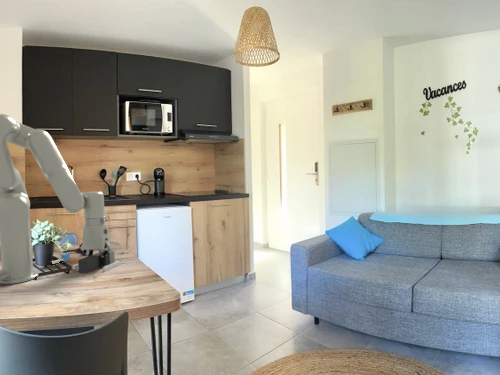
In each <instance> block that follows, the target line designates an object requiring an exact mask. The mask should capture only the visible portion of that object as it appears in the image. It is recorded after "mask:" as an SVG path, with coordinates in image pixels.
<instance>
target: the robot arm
mask: <svg viewBox="0 0 500 375" xmlns="http://www.w3.org/2000/svg"><path fill="white" fill-rule="evenodd" d="M8 143H10V144H13V145H15V146H18V147H21V148H23V149H26V150H29V151H30V153H31V155H32V156H33V158H34V160H35V161H36V163H37V165H38V167H39V168H40V170H41V172H42V174H43V175H44V176H43V177H44V178H45V179H46V180H47V181H48V183H49V184H50V186H51V187H52V189H53V191H54V192H55V194H56V196H57V198H58V200H59V201H60V203H61V205H62V207H63V209H64V210H66V211H67V212H69V213H78V212H80V211H82V210H83V215H84V225H83V231H82V243H83V244H82V243H81V244H82V245H81V244H80V245H81V247H80V246H79V247H80V249H81V250H82V251H84V253H85V254H86V255H85V257H88V256H91V255H93V254H94V251H98V253H100V256H101V257H100V258H99V263H100V267H101V268H103V267H105V266H107V265H106V256H107V254H108V253H109V252H110V251H113V247H112V245H111V237H110V232H109V231H110V230H109V227H108V224H106V223H107V222H108V220H107V219H105V218H106V216H105V196H104V193H103V191H98V190H97V191H86V192H81V191H80V188H79V187H78V186H77V183H76V182H75V180H74V177H73V176H72V174H71V172H70V170H69V167H68V166H67V163H66V161H65V160H64V158H63V156H62V154H61V152H60V151H59V149H58V147H57V145H56V143H55V141H54V139H53V138H52V136H51V135H50V133H48V131H46V130H44V129H40V128H39V129H35V128H33V127H31V126H28V125H25V124H23V123H20V122H18V121H16V120H15V119H14V118H13V117H12V116H11V115H8V114H4V113H0V261H1V269H0V284H1V285H12V284H20V283H25V282H30V281H32V280H34V279H36V278H37V277H39V272H38V271H36V270H34V261H33V245H32V243H33V242H32V230H31V229H32V228H31V216H30V215H31V214H30V212H31V211H30V210H31V209H30V208H31V201H30V198H29V195H28V192H27V189H26V186H25V183H24V181H23V177H22V176H21V173H20V171H19V170H18V169H17V168H16V167H15V164H14V161H13V159H12V155H11V153H10V150H9V146H8ZM36 276H37V277H36ZM35 277H36V278H35Z"/></svg>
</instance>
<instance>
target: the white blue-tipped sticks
mask: <svg viewBox="0 0 500 375" xmlns="http://www.w3.org/2000/svg"><path fill="white" fill-rule="evenodd" d="M94 254H95V253H93V255H94ZM60 256H61V258H59V259H56V260H53V261H51V262H52V264H55V263H59V262H60V261H64V262H63V263H65V262H68V261H70V258H71V257H70V252H66V253H63V254H61V255H60ZM59 264H60V263H59ZM121 264H122V263H121V260H117V261H115V262H114V263H112V264H108V265H106V266H103V267H102V272H107V271H110V270H111V269H114V268H116V267H118V266H120V265H121ZM72 270H73V271H74V270H79V267H78V263H76V264H74V265H72Z"/></svg>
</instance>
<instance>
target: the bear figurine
mask: <svg viewBox="0 0 500 375" xmlns="http://www.w3.org/2000/svg"><path fill="white" fill-rule="evenodd" d="M82 244H83V242H82V243H80V244H79V246H78V247H77V248H75V249H66V250H67V251H66V250H62V253H63V254H65V253H73V252H80V253H81V254H82V256H83V257H86V254H85V253H84V251H82V250H81V249H80V247H81V245H82Z"/></svg>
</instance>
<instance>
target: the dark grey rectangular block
mask: <svg viewBox="0 0 500 375" xmlns="http://www.w3.org/2000/svg"><path fill="white" fill-rule="evenodd" d="M93 254H94V255H91V256H88V257H86V256H84V257H83V258H81V259H78V260H77V261H78V263H77V264H78V267H79V268H78V273H82V274H90V273H91V272H94V271H95V270H99V269H101V268H102V267H100V263H99V258H100V257H101V256H100V253H99V252H97V253H93ZM115 260H116V258H115V250H111V251H110V252H109V253H108V254H107V256H106V266H108V265H110V264H112V263H115V262H116V261H115Z"/></svg>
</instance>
